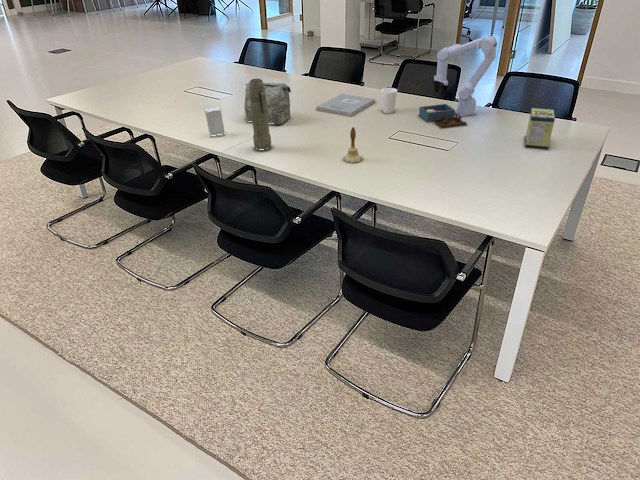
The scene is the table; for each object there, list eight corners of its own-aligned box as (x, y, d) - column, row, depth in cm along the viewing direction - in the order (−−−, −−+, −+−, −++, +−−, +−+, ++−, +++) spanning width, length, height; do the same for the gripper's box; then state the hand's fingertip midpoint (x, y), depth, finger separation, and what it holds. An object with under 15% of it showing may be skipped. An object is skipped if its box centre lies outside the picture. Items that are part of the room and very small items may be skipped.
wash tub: (445, 112, 290) (445, 103, 287) (454, 118, 281) (455, 109, 278) (418, 115, 287) (419, 106, 284) (427, 122, 278) (428, 113, 275)
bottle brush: (445, 116, 286) (444, 112, 287) (447, 112, 283) (445, 108, 284) (425, 116, 284) (424, 112, 285) (427, 112, 281) (425, 108, 282)
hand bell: (344, 156, 242) (344, 124, 233) (361, 155, 242) (361, 124, 233) (344, 163, 235) (344, 131, 226) (361, 162, 235) (362, 130, 226)
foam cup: (395, 114, 290) (396, 92, 283) (379, 114, 292) (380, 92, 285) (396, 109, 298) (397, 88, 291) (381, 109, 300) (382, 87, 293)
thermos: (264, 153, 248) (256, 84, 229) (249, 148, 255) (241, 80, 236) (277, 148, 253) (271, 79, 234) (262, 143, 260) (255, 75, 241)
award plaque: (316, 110, 302) (316, 106, 301) (341, 96, 323) (341, 93, 322) (350, 116, 290) (350, 112, 289) (374, 102, 311) (374, 98, 310)
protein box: (546, 138, 252) (553, 108, 244) (548, 149, 240) (555, 119, 231) (525, 136, 255) (531, 107, 247) (525, 147, 243) (531, 117, 234)
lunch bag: (295, 117, 293) (293, 80, 281) (282, 127, 279) (279, 88, 267) (257, 113, 301) (253, 76, 289) (242, 122, 287) (238, 85, 275)
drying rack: (458, 119, 279) (459, 111, 277) (466, 125, 272) (467, 117, 269) (434, 122, 277) (435, 114, 274) (441, 128, 269) (442, 120, 267)
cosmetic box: (223, 132, 275) (219, 106, 267) (225, 135, 271) (221, 109, 263) (208, 134, 273) (204, 108, 265) (210, 138, 268) (205, 111, 260)
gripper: (430, 68, 287) (428, 91, 295) (441, 74, 275) (438, 98, 283) (441, 67, 288) (438, 90, 296) (452, 73, 277) (449, 97, 284)
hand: (439, 94), depth 289 cm, fingers open, 7 cm apart
